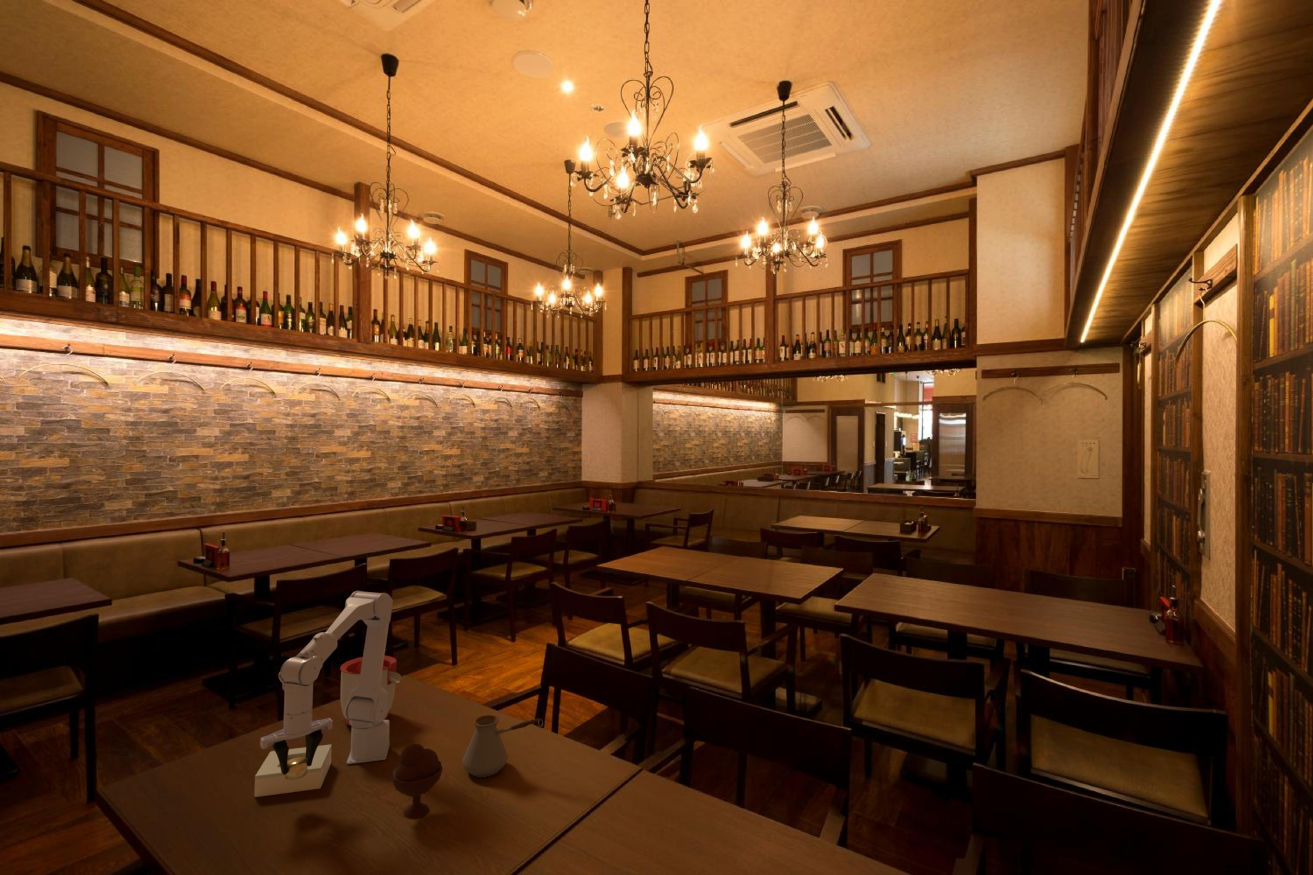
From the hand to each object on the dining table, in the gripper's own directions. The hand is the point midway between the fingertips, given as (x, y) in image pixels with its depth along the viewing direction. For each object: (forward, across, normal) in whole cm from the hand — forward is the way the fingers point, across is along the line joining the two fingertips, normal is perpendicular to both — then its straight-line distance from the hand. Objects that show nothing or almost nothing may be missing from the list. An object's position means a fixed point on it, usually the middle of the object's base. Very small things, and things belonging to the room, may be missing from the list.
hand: (296, 768), depth 141 cm
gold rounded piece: (+1, 0, 0) cm, 1 cm away
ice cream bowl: (+9, -19, +22) cm, 30 cm away
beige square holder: (+8, -3, -12) cm, 15 cm away
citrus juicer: (+9, -30, -33) cm, 45 cm away
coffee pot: (+9, -42, +21) cm, 48 cm away
